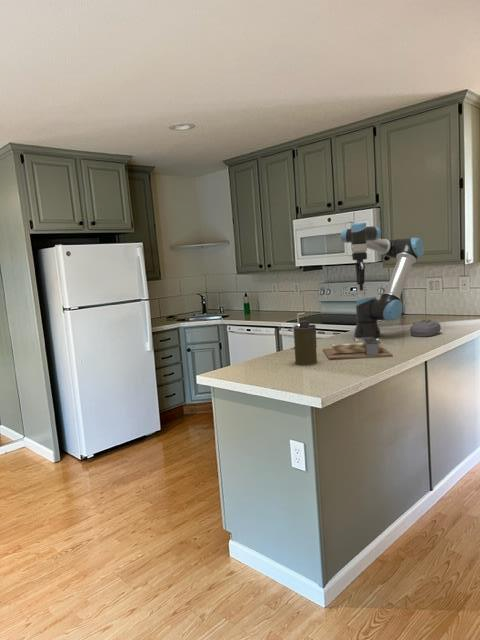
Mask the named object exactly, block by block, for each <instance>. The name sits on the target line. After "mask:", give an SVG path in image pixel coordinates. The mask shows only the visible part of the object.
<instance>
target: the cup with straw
mask: <svg viewBox="0 0 480 640" xmlns="http://www.w3.org/2000/svg"><path fill="white" fill-rule="evenodd" d="M305 314H307V313H306V312H299V313H297V322H296V323H295V324H294V325H293V326H292V328H291V330H290V331H291V332H292V335H293V336H294V328H293V327H294V326H299V325H300V324H299V323H298V322H299V321H300V319H299V315H305Z"/></svg>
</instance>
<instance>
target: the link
mask: <svg viewBox="0 0 480 640" xmlns="http://www.w3.org/2000/svg"><path fill="white" fill-rule="evenodd" d="M331 348H332V353H333V354H337V353H357V352H365V343H364V342H360V343H359V342H357V343H339V344H338V343H337V344H336V343H335V344H331ZM383 348H384V342H382V341H381V342H380V343H378V352H382V351H383Z"/></svg>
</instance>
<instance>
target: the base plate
mask: <svg viewBox="0 0 480 640" xmlns="http://www.w3.org/2000/svg"><path fill="white" fill-rule="evenodd" d="M322 352H323V353H324V355H325V356H326V358H327V359H328V361H339V360H355V359H372V358H373V359H374V358H375V359H376V358H393V357H394V356H393V354H392V352H390V351H388V350H387V349H386V348H385V347H383V351H382V352H379V355H372V356H367V355H366V354H365V352H357V353H337V354H333V353H332V347H328V348H322Z"/></svg>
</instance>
